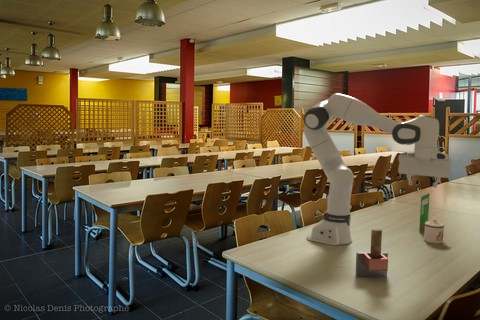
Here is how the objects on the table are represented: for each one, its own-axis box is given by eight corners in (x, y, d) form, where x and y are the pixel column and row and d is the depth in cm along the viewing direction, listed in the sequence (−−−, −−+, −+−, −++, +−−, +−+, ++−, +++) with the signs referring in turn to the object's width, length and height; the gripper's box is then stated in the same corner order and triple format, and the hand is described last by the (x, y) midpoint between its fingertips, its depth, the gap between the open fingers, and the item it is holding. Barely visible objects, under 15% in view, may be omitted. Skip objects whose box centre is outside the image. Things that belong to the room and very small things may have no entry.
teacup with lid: (439, 245, 194) (441, 222, 193) (420, 241, 201) (422, 218, 200) (447, 240, 203) (449, 218, 202) (429, 236, 209) (430, 215, 208)
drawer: (385, 275, 156) (386, 252, 155) (393, 283, 148) (394, 258, 147) (355, 275, 155) (356, 252, 155) (362, 283, 148) (363, 259, 147)
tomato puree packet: (426, 226, 228) (428, 193, 226) (428, 227, 227) (430, 193, 225) (418, 232, 217) (420, 196, 215) (420, 232, 216) (422, 197, 214)
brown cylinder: (369, 266, 150) (370, 230, 149) (370, 263, 153) (372, 228, 152) (379, 268, 148) (381, 232, 147) (380, 265, 152) (382, 229, 150)
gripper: (398, 152, 168) (395, 184, 169) (452, 156, 159) (449, 189, 160) (399, 151, 173) (396, 182, 175) (451, 155, 165) (448, 187, 166)
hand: (422, 186), depth 167 cm, fingers open, 8 cm apart
